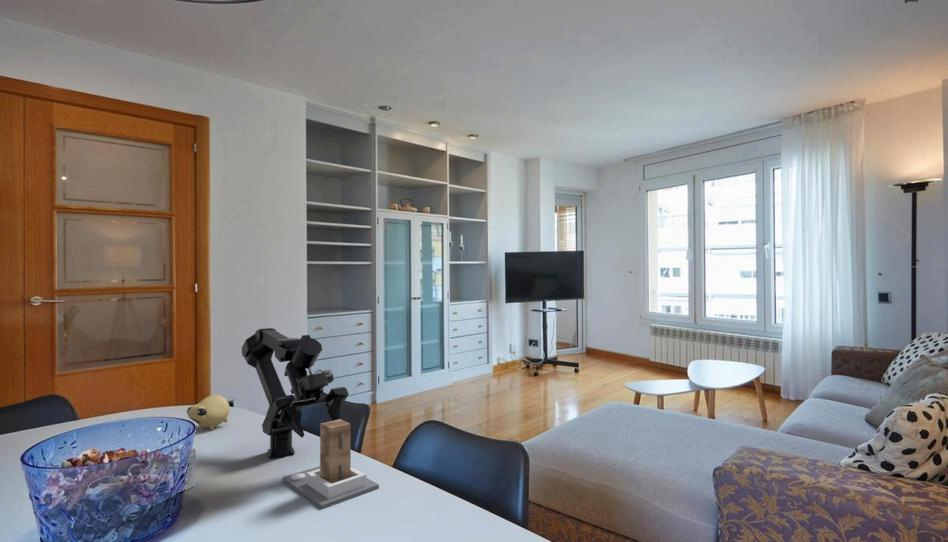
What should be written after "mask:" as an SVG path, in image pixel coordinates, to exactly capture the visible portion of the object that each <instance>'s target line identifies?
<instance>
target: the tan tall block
mask: <svg viewBox="0 0 948 542" xmlns="http://www.w3.org/2000/svg"><path fill="white" fill-rule="evenodd" d="M319 425H320V426H319V427H320V431H319V435H320V436H319V442H320V443H319V445H320V446H319V451H320V452H319V466H320V477H321V478H323V479H324V480H326V481H328V482H329V483H331V484H332V483H335V482H338V481H341V480H344V479H347V478H350V466H351V453H352V452H351V449H352V448H351V443H352V441H351V440H352V439H351V433H352V432H351V431H352V426H351V423H350V422H348V421H346V420H343V419H341V418H340V419H338V420H334V421H332V420H331V421H330V420H329V421H326V422H321V423H320V424H319Z"/></svg>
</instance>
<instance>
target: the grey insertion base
mask: <svg viewBox="0 0 948 542" xmlns="http://www.w3.org/2000/svg"><path fill="white" fill-rule="evenodd" d="M282 481H283V482H284V483H285V484H287V485H288V486H289V487H290V488H292V489H294V490H295V491H296V492H298V493H299V494H300V495H301V496H303V497H304V498H306V499H307V500H309V501H310V502H312V503H313V504H314V505H316V506H317V507H318V508H319V509H321V510H322V509H326V508H329V507H331V506H332V507H333V506H334V505H337V504H340V503H342V502H344V501H347V500H350V499H353V498H356V497H358V496H361V495H364V494H367V493H369V492H372V491H375V490H377V489H379V488H380V485H379V483H377V482H375V481H373V480H371V479H369V478H367V474H365V472H362V471H360V470H358V469H356V468H354V467H352V466H351V465H350V478H347V479H344V480H341V481H338V482H335V483H332V484H331V483H329V482H328V481H326V480H324V479H323V478H321V477H320V465H319V466H315V467H313V468H312V467H311V468H308V469H305V470H302V471H299V472H295V473H292V474H288V475H286V476H283V477H282Z"/></svg>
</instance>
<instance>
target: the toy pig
mask: <svg viewBox="0 0 948 542" xmlns="http://www.w3.org/2000/svg"><path fill="white" fill-rule="evenodd" d="M230 409H231V407H230V404H229V401H228V400H227V399H226V398H225V397H224V396H222V395H220V394H211V395H208V396H207V397H204V398H203V399H202V400H201V401H199V402H198V403H197V404H192V406H189V407H187V409H186V413H187V417H188V419H190V420H192V421H193V422H195V423H196V424H197V425H198V426H199V427H200V428H205V429H209V430H210V431H213V430H215V428H216V426H219V425H221V424H222V423H227V422H228V421H229V418H228V417H229V414H230V412H231V411H230Z"/></svg>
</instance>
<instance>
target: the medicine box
mask: <svg viewBox="0 0 948 542" xmlns="http://www.w3.org/2000/svg"><path fill="white" fill-rule="evenodd" d="M190 449H191V454H190V461H189V467H188V472H187V482H186V489H185V491H184V492H186V491H187V490H190V489H191V488H194V487H195V486H196V485H197V477H196V476H197V475H196V474H197V473H196V471H197V469H196V467H197V465H196V464H197V463H196V461H197V459H196V458H197V456H196V455H197V454H196V453H197V452H196V449H195V448H190Z"/></svg>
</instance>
